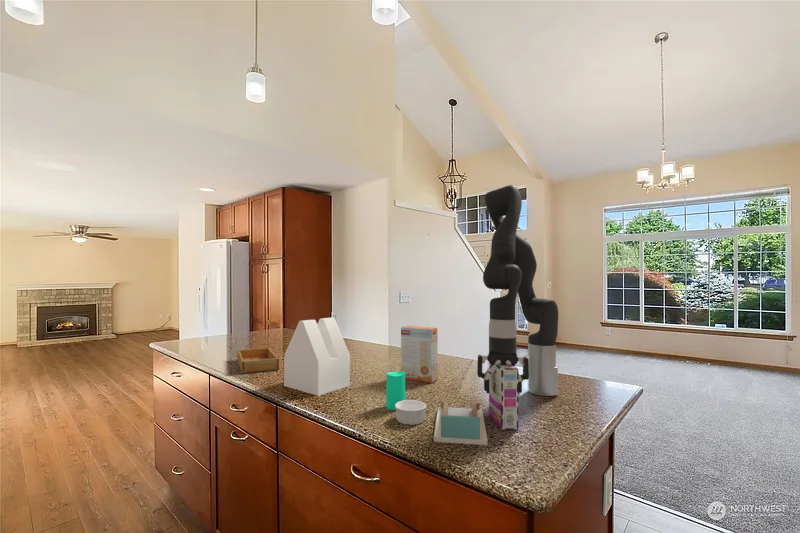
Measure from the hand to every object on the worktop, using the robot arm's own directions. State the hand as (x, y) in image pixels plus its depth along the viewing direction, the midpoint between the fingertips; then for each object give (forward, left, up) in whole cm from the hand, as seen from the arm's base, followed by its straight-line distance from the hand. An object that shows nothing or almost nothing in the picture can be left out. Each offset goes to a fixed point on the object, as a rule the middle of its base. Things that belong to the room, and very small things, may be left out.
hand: (502, 393), depth 106 cm
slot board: (+12, +4, -8) cm, 15 cm away
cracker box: (+28, -41, -8) cm, 50 cm away
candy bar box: (0, 0, -8) cm, 8 cm away
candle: (+32, -8, -8) cm, 34 cm away
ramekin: (+26, +2, -8) cm, 27 cm away
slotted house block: (+65, -26, -8) cm, 70 cm away
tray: (+105, -54, -9) cm, 118 cm away
